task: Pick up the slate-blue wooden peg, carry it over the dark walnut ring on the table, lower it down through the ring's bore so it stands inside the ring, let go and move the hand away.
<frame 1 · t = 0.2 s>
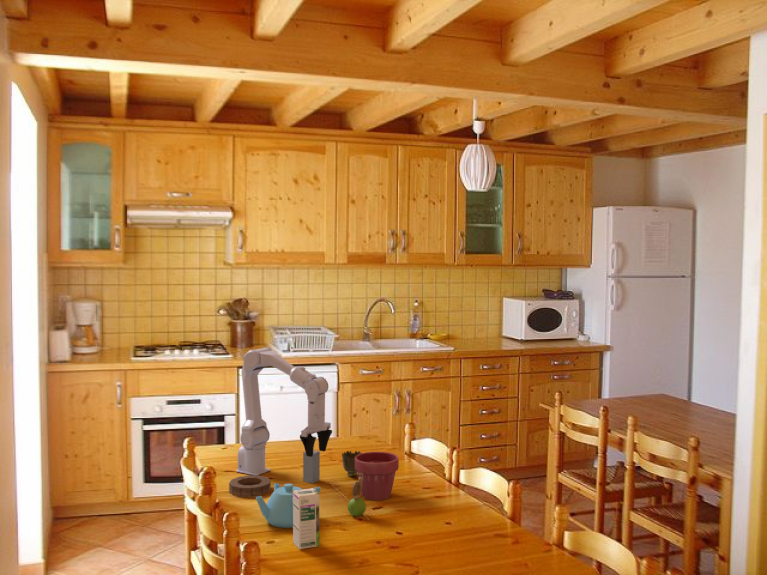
hand: (316, 453, 255), 10 cm above the table, tool pointing down, fingers open, 7 cm apart
teapot: (288, 521, 221), on the table
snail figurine: (357, 515, 225), on the table
slate peg: (311, 480, 258), on the table
plant pot: (376, 496, 243), on the table
syrup box: (306, 545, 203), on the table
walnut ring: (250, 490, 247), on the table
cup: (352, 476, 264), on the table
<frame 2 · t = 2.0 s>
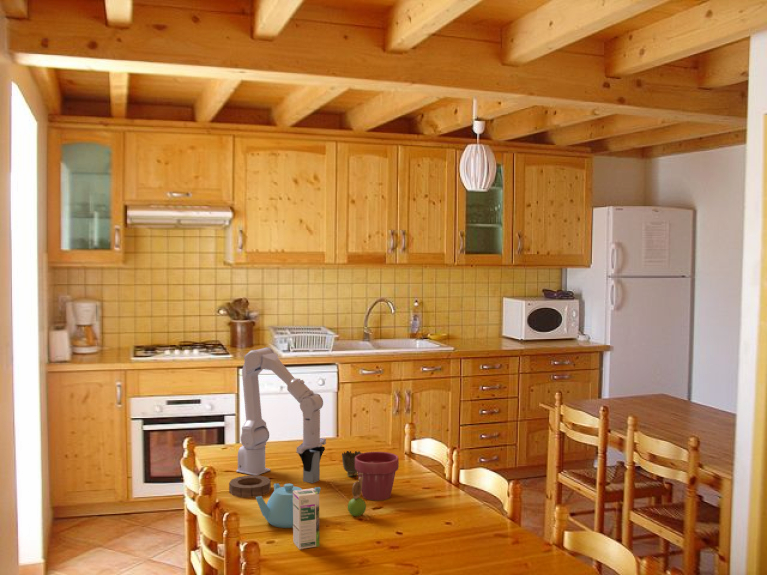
hand: (311, 469, 258), 4 cm above the table, tool pointing down, fingers closed on slate peg, 4 cm apart
slate peg: (311, 480, 258), on the table, touching gripper
everything else where it was.
when the fingers open (5 cm above the table, at t = 6.9 s): slate peg drops 1 cm, resting in walnut ring.
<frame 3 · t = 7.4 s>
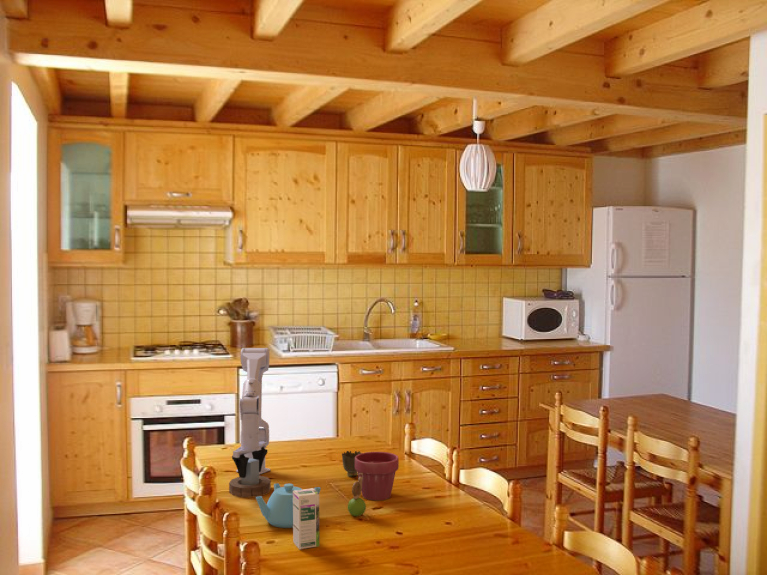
hand: (250, 474, 247), 5 cm above the table, tool pointing down, fingers open, 7 cm apart
slate peg: (250, 490, 247), resting in walnut ring
everything else where it was.
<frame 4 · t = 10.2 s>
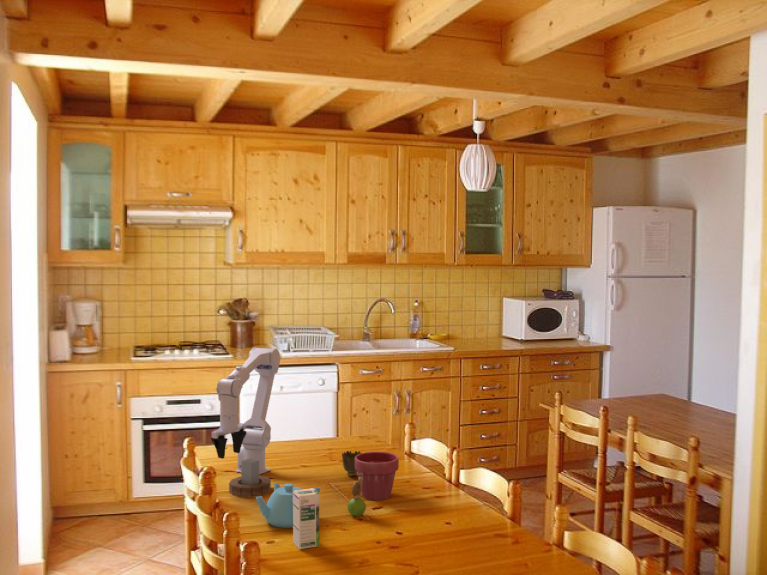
hand: (229, 455, 251), 10 cm above the table, tool pointing down, fingers open, 7 cm apart
nothing on the table moved.
at the end: slate peg 0.1 cm off-centre on the walnut ring, point 0.0 cm above the walnut ring's base; slate peg tilted 0°; the gripper is holding nothing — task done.
